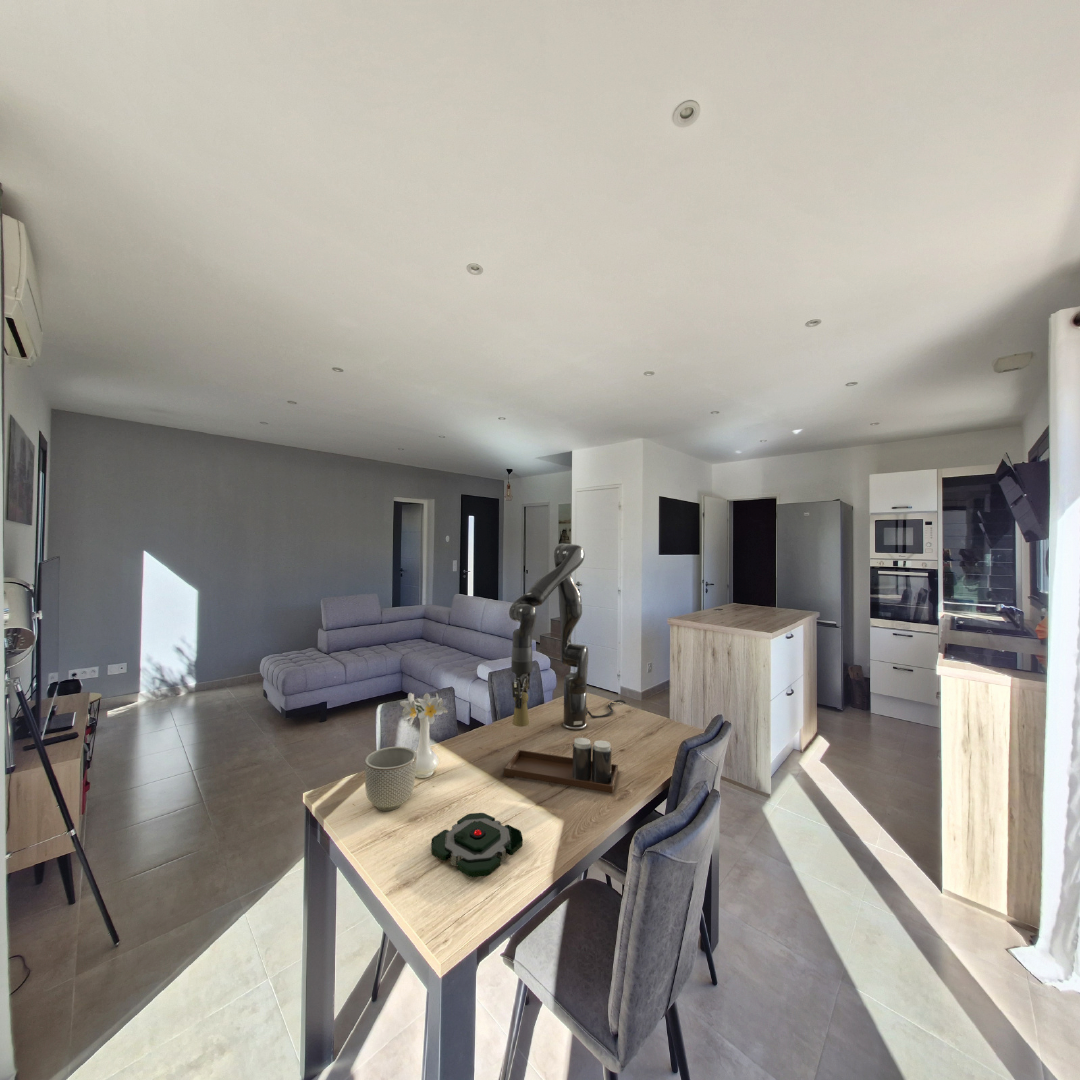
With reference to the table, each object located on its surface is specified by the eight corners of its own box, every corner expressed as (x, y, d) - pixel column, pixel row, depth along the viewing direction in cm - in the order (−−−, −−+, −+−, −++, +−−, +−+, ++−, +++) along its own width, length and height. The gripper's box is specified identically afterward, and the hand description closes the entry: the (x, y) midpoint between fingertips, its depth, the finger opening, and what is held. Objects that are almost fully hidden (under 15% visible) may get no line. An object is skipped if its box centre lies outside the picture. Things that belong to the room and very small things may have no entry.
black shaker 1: (574, 770, 147) (575, 736, 147) (592, 773, 145) (593, 738, 145) (570, 779, 141) (571, 743, 141) (589, 782, 139) (590, 746, 139)
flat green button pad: (475, 818, 120) (475, 800, 120) (529, 844, 110) (530, 825, 110) (422, 854, 105) (422, 834, 105) (479, 889, 95) (480, 867, 95)
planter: (425, 804, 126) (426, 757, 126) (377, 825, 116) (378, 774, 116) (400, 785, 136) (401, 742, 136) (354, 803, 126) (356, 756, 126)
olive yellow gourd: (530, 720, 166) (530, 690, 166) (528, 727, 160) (528, 695, 160) (513, 719, 166) (514, 689, 166) (511, 726, 160) (511, 695, 160)
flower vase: (417, 757, 154) (419, 684, 154) (456, 773, 144) (458, 694, 144) (385, 772, 143) (387, 693, 144) (425, 791, 133) (427, 705, 133)
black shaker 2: (593, 773, 145) (594, 738, 145) (612, 776, 143) (613, 741, 143) (590, 782, 139) (591, 746, 139) (609, 785, 137) (610, 749, 138)
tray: (518, 756, 156) (518, 749, 156) (617, 772, 147) (618, 764, 147) (503, 776, 143) (503, 768, 143) (612, 794, 133) (612, 786, 133)
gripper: (525, 664, 155) (524, 713, 155) (537, 654, 169) (536, 700, 169) (505, 662, 157) (504, 711, 157) (518, 653, 171) (517, 698, 171)
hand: (521, 705), depth 163 cm, fingers closed on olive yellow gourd, 5 cm apart
